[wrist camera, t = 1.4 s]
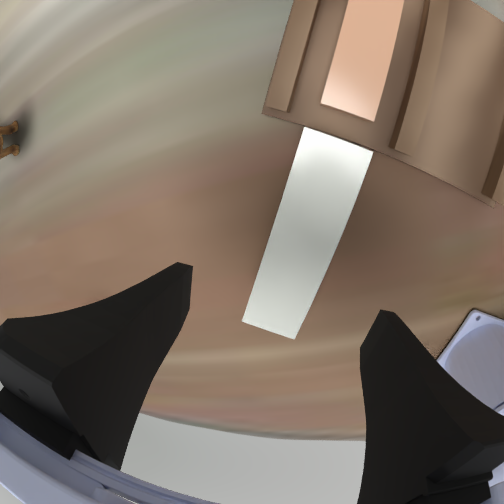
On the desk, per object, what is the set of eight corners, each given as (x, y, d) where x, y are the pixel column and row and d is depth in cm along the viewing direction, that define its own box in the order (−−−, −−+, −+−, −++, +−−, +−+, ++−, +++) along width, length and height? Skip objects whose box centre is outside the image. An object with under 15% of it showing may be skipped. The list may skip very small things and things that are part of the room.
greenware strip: (359, 145, 17) (373, 152, 13) (300, 297, 23) (294, 339, 18) (308, 126, 18) (304, 126, 13) (258, 282, 23) (241, 321, 19)
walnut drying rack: (523, 45, 10) (541, 40, 7) (487, 204, 16) (504, 215, 14) (313, -52, 11) (311, -71, 9) (264, 114, 18) (256, 112, 15)
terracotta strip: (402, -19, 11) (409, -31, 9) (368, 122, 15) (373, 121, 14) (357, -34, 11) (360, -48, 9) (320, 105, 16) (320, 102, 14)
